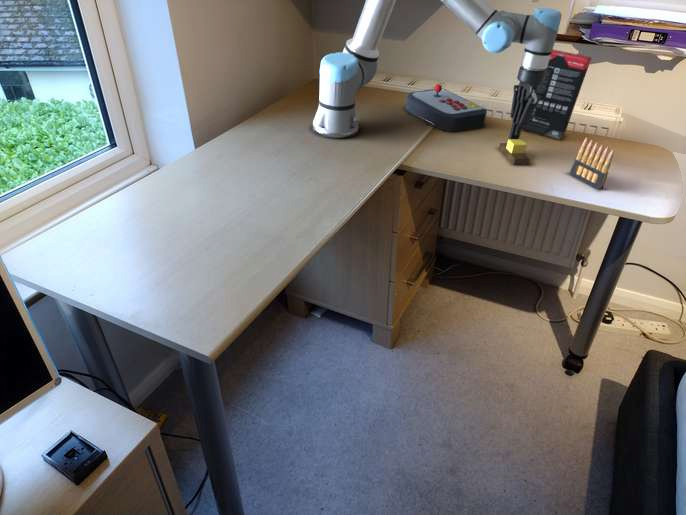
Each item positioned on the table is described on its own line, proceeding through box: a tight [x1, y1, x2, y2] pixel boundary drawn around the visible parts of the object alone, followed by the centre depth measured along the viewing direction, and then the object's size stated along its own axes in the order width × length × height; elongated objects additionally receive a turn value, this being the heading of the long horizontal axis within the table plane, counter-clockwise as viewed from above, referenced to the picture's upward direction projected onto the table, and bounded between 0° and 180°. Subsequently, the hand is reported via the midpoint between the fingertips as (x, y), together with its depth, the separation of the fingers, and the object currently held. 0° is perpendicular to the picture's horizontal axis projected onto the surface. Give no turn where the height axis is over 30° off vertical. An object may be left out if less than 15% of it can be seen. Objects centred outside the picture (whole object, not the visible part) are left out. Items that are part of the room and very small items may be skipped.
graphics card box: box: [522, 49, 592, 141], centre depth 172 cm, size 17×7×27 cm, turn 58°
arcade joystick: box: [404, 83, 488, 132], centre depth 183 cm, size 28×19×10 cm
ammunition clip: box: [568, 137, 615, 190], centre depth 147 cm, size 11×2×12 cm, turn 30°
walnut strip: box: [498, 142, 531, 166], centre depth 161 cm, size 12×5×2 cm, turn 8°
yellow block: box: [506, 138, 527, 154], centre depth 159 cm, size 4×4×3 cm
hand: (512, 143), depth 162 cm, fingers closed
